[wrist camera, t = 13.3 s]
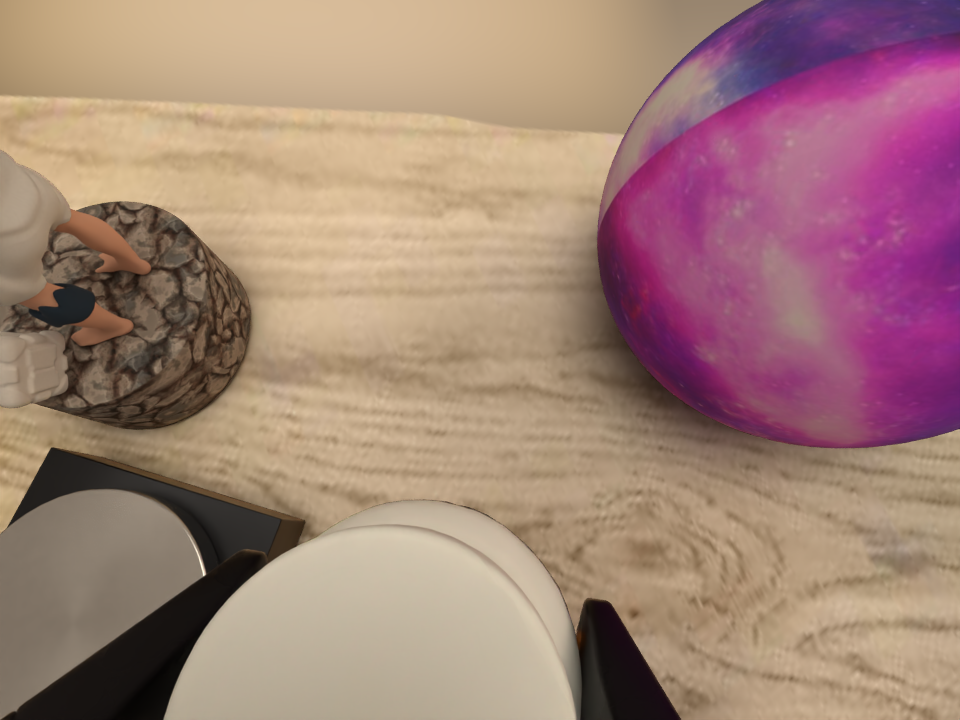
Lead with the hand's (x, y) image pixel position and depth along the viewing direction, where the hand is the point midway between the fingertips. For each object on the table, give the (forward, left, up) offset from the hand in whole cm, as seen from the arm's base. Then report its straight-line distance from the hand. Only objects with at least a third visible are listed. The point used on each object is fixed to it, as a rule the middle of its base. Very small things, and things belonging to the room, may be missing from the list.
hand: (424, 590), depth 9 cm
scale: (-5, +12, -13) cm, 19 cm away
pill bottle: (-1, 0, -7) cm, 7 cm away
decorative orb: (+14, -9, -13) cm, 22 cm away
